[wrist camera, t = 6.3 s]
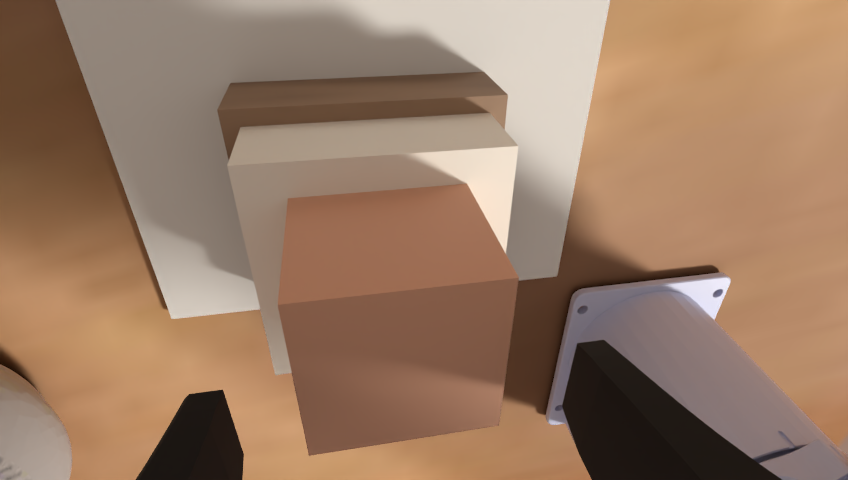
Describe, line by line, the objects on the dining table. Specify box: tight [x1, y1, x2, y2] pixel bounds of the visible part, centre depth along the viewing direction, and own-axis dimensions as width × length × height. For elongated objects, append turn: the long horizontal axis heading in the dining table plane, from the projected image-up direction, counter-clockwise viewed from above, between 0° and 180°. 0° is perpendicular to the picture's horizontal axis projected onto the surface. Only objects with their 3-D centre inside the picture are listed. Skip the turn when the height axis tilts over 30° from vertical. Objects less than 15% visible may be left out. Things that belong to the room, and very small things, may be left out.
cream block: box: [227, 113, 518, 375], centre depth 15 cm, size 7×7×2 cm
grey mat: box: [55, 0, 610, 319], centre depth 15 cm, size 20×16×1 cm
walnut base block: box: [217, 72, 508, 160], centre depth 17 cm, size 8×8×2 cm
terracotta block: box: [278, 184, 519, 456], centre depth 12 cm, size 4×4×4 cm
